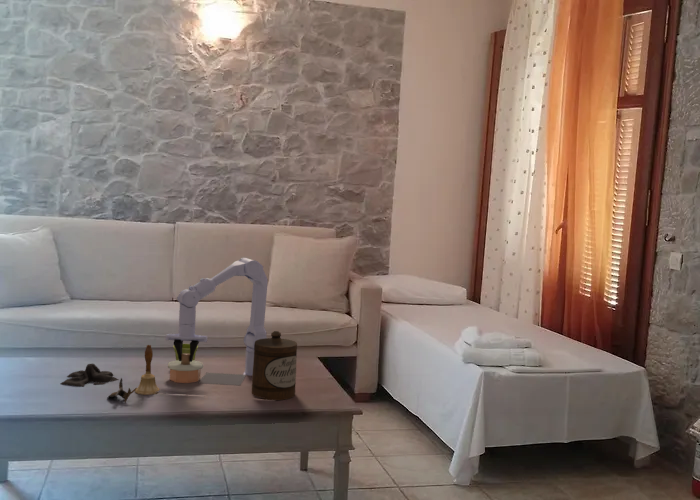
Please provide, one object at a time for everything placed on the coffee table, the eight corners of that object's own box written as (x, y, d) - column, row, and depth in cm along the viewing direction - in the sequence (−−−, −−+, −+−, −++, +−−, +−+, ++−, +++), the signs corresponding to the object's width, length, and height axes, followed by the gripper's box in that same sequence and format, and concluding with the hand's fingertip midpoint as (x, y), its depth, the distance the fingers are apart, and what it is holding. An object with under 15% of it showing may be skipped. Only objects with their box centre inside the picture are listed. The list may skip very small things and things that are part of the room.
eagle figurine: (141, 396, 242) (125, 385, 248) (133, 381, 238) (117, 370, 244) (122, 411, 238) (107, 400, 244) (114, 396, 234) (98, 385, 240)
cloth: (59, 389, 251) (60, 371, 250) (60, 375, 268) (61, 358, 268) (128, 386, 259) (129, 369, 258) (125, 373, 276) (125, 356, 275)
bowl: (201, 377, 273) (202, 364, 273) (196, 385, 263) (196, 371, 263) (174, 376, 273) (175, 362, 273) (167, 383, 263) (168, 369, 263)
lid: (209, 365, 272) (209, 352, 271) (192, 372, 260) (192, 359, 259) (179, 361, 275) (179, 349, 275) (160, 368, 263) (161, 355, 263)
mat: (246, 376, 278) (246, 374, 278) (240, 387, 263) (240, 385, 263) (206, 374, 278) (206, 372, 278) (197, 384, 264) (197, 383, 263)
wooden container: (272, 403, 246) (275, 337, 245) (242, 393, 256) (245, 330, 254) (303, 395, 258) (307, 332, 256) (274, 386, 267) (277, 325, 265)
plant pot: (170, 366, 287) (170, 344, 286) (194, 364, 291) (195, 343, 290) (175, 372, 279) (175, 349, 278) (200, 370, 283) (200, 348, 282)
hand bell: (162, 393, 250) (164, 347, 249) (137, 395, 247) (139, 348, 245) (157, 387, 258) (158, 341, 256) (132, 389, 254) (133, 342, 253)
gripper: (209, 322, 270) (208, 359, 272) (169, 320, 270) (168, 357, 271) (206, 325, 263) (204, 363, 265) (164, 323, 263) (163, 361, 264)
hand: (185, 360), depth 267 cm, fingers closed on lid, 3 cm apart
